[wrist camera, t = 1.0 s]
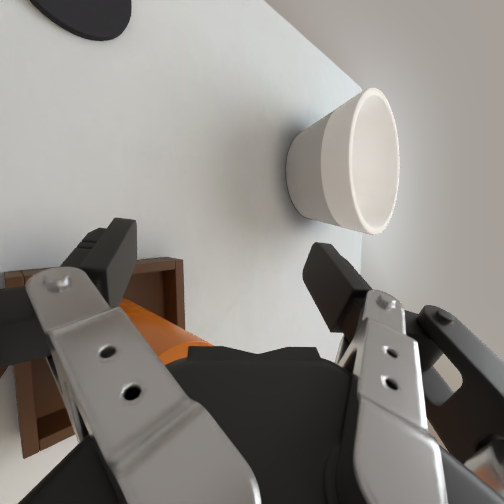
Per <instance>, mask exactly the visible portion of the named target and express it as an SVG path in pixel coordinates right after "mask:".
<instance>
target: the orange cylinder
mask: <svg viewBox="0 0 504 504" xmlns="http://www.w3.org/2000/svg"><path fill="white" fill-rule="evenodd" d="M119 307H121V308H122V309H123V310H124V312H125V313H126V314H127V316H128V317H129V318H130V320H131V321H132V322H133V324H134V325H135V326H136V328H137V329H138V330H139V332H140V333H141V334H142V336H143V337H144V338H145V340H146V341H147V342H148V344H149V345H150V346H151V348H152V349H153V350H154V352H155V353H156V354H157V356H158V357H159V359H160V360H161V361H162V363H163V364H164V365H166V364H168V363H170V362H173V361H175V360H178V359H181V358H185V357H187V354H188V346H213V345H212V344H210V343H208V342H206V341H204V340H202V339H201V338H199V337H197V336H195V335H193V334H191V333H189V332H188V331H186V330H184V329H182V328H180V327H178V326H176V325H175V324H173V323H171V322H169V321H167V320H165V319H163V318H162V317H160V316H158V315H156V314H154V313H152V312H150V311H149V310H147V309H145V308H143V307H141V306H139V305H137V304H136V303H134V302H132V301H130V300H128V299H125V298H122V300H121V302H120V305H119Z"/></svg>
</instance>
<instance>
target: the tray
mask: <svg viewBox="0 0 504 504" xmlns="http://www.w3.org/2000/svg"><path fill="white" fill-rule="evenodd" d="M53 268H55V267H53ZM46 269H50V268H42V269H31V270H20V271H9V272H4V276H5V286H6V288H13V287H21V286H25V285H26V282H27V281H28V279H29V278H30V277H32V276H33V275H35V274H36V273H38V272H41V271H43V270H46ZM122 298H125V299H128V300H130V301H132V302H134V303H136V304H137V305H139V306H141V307H143V308H145V309H147V310H149V311H150V312H152V313H154V314H156V315H158V316H160V317H162V318H163V319H165V320H167V321H169V322H171V323H173V324H175V325H176V326H178V327H180V328H182V329H184V330H185V309H184V275H183V260H181V259H175V258H169V257H163V258H152V259H141V260H136V265H135V268H134V270H133V273H132V275H131V278H130V280H129V283H128V285H127V288H126V290H125V293H124V295H123V297H122ZM13 367H14V377H15V387H16V397H17V408H18V418H19V428H20V437H21V445H22V453H23V458H24V459H25V458H27V457H29V456H31V455H33V454H35V453H38V452H39V450H40V451H42V450H44V449H46V448H48V447H50V446H52V445H54V444H56V443H58V442H60V441H62V440H64V439H66V438H68V437H70V436H73V435H75V432H74V430H73V427H72V424H71V421H70V419H69V416H68V412H67V410H66V407H65V404H64V402H63V399H62V397H61V394H60V392H59V389H58V387H57V385H56V382H55V380H54V377H53V375H52V372H51V370H50V367H49V365H48V363H47V360H46V357H44V358H40V359H36V360H31V361H27V362H23V363H18V364H14V365H13Z"/></svg>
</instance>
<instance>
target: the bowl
mask: <svg viewBox="0 0 504 504" xmlns="http://www.w3.org/2000/svg"><path fill="white" fill-rule="evenodd" d="M286 179H287V187H288V191H289V195H290V197H291V200H292V202H293V204H294V206H295V208H296V209H297V210H298V212H299V213H300V214H301V215H303V216H304V217H306V218H309V219H313V220H316V221H320V222H324V223H328V224H332V225H336V226H340V227H344V228H347V229H350V230H354V231H358V232H362V233H366V234H370V235H377V234H379V233H381V232H382V231H383V230H384V229H385V228H386V226H387V225H388V223H389V221H390V219H391V216H392V213H393V210H394V206H395V202H396V197H397V192H398V182H399V144H398V136H397V130H396V125H395V120H394V117H393V113H392V110H391V108H390V105H389V103H388V101H387V99H386V97H385V96H384V94H383V93H382V92H381V91H380V90H379V89H376V88H368V89H366V90H364V91H362V92H361V93H359V94H358V95H356V96H355V97H353V98H352V99H350V100H349V101H347V102H346V103H344V104H343V105H341V106H340V107H338V108H337V109H336V110H334V111H333V112H331V113H330V114H328V115H327V116H325V117H324V118H322V119H321V120H319V121H317V122H316V123H314V124H313V125H311V126H310V127H308V128H307V129H305V130H304V131H302V132H301V133H300V134H298V135H297V136H296V137H295V139H294V140H293V142H292V143H291V146H290V148H289V152H288V156H287V162H286Z"/></svg>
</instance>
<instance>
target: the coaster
mask: <svg viewBox="0 0 504 504" xmlns="http://www.w3.org/2000/svg"><path fill="white" fill-rule="evenodd" d="M30 1H31V2H32V3H33V4H34V5H35V6H36V7H37V8H38V9H39V10H40V11H41V12H42V13H43V14H45V15H46V16H47V17H48V18H50V19H51V20H52V21H53V22H55V23H56V24H58V25H59V26H61V27H62V28H64V29H66V30H68V31H69V32H71V33H74V34H76V35H78V36H81V37H83V38H87V39H91V40H98V41H104V40H110V39H114V38H116V37H118V36H119V35H120V34H121V33H122V32H123V31H124V30H125V28H126V27H127V25H128V23H129V20H130V17H131V0H30Z"/></svg>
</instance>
